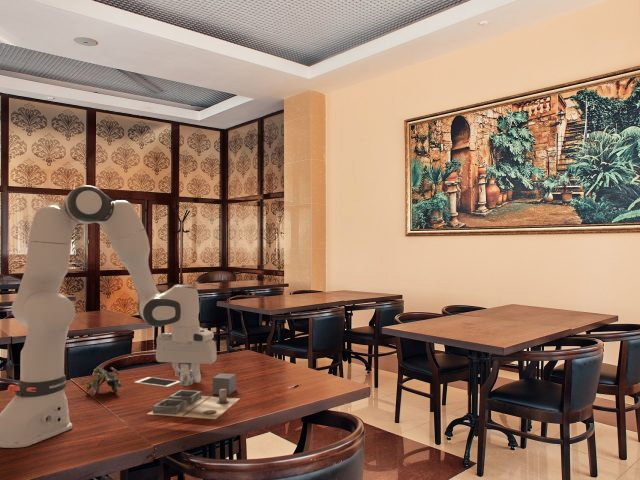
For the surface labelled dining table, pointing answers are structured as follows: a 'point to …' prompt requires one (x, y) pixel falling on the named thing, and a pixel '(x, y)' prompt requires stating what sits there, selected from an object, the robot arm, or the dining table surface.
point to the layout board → (194, 405)
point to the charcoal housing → (224, 383)
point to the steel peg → (185, 374)
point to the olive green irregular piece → (106, 377)
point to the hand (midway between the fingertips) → (186, 376)
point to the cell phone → (157, 381)
